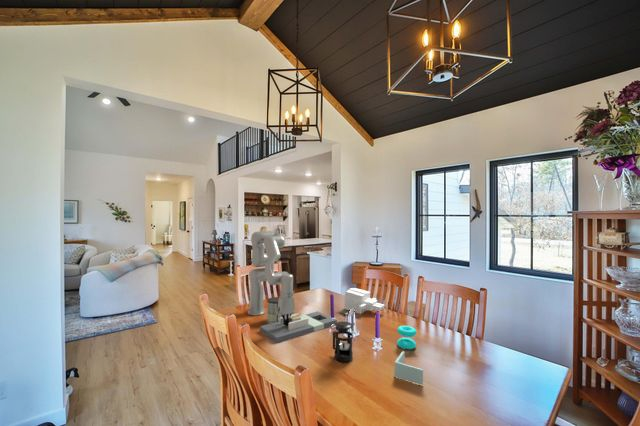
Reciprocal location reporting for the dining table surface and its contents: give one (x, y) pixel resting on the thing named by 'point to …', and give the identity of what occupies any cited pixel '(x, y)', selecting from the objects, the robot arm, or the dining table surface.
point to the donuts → (406, 332)
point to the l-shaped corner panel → (407, 370)
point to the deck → (297, 326)
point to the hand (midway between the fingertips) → (286, 324)
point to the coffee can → (272, 310)
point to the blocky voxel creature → (361, 301)
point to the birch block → (294, 318)
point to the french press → (343, 346)
